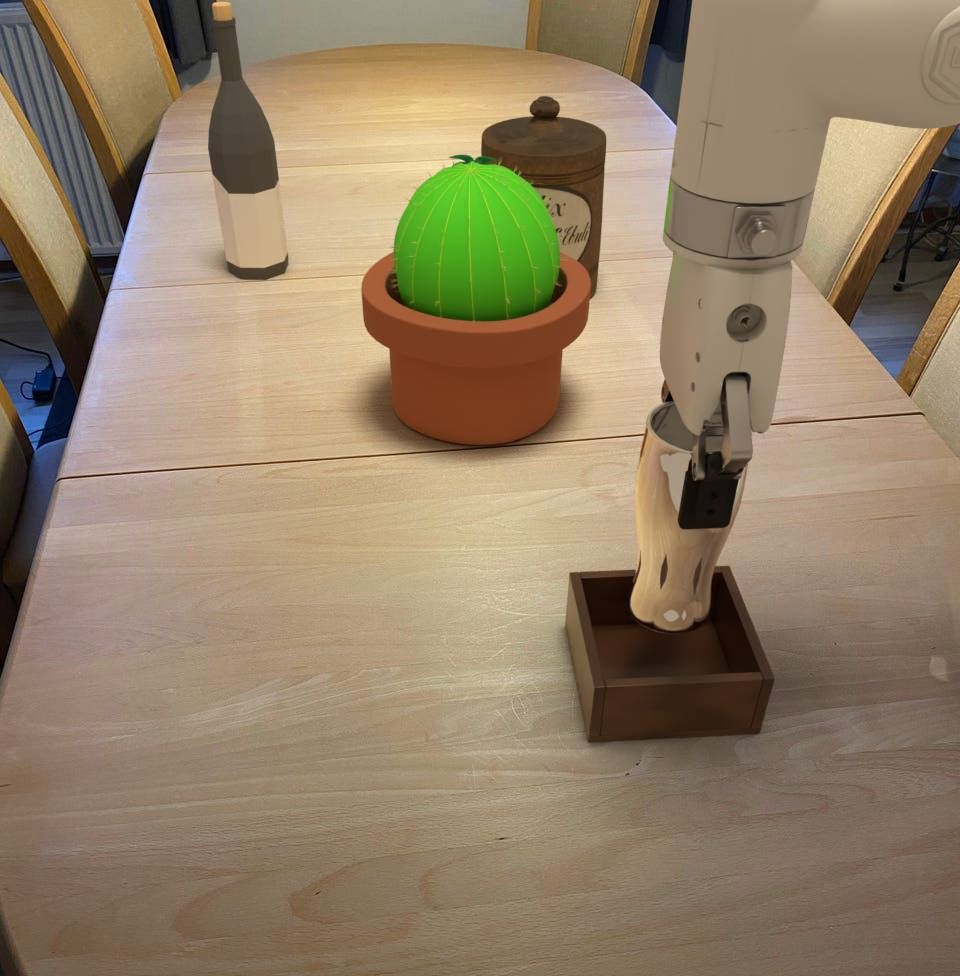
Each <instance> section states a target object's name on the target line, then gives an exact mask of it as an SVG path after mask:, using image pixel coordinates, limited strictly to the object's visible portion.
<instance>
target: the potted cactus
mask: <svg viewBox="0 0 960 976" xmlns="http://www.w3.org/2000/svg"><path fill="white" fill-rule="evenodd" d="M448 159H452V160H454V161H451V162H452V165H451V166H447V167H446V163H444V161H441V164H442V165H439V166H440V170H438V171H437V172H436V173H435V174H434V175H432V174H431V172H430V170H429V172H427V174H428V176H429V178H427V179H426V180H424V182H423V183H422V184H420V185H419V186H417V187H416V186H415V185H412V188H413V189H415V191H414V193H413V194H412V196H411V198H410V199H409V198H408V197H405V199H406V201H408V204H407V206H405V209H404V211H403V213H402V215H401V216H400V219H398V218H396V216H393V218H394V217H395V221H397V222H398V224H397V227H396V230H395V235H394V239H393V240H394V241H393V245H391V246H390V248H391V249H393V251H392V252H390V253H388V254H387V255H384V256H383V257H381V258H380V259H379V260H378V261H376V262H375V263H374V264H373V265H371V267H370V268H369V269H368V270H367V271H366V273H365V274H364V276H363V278H362V282H361V288H360V289H361V306H362V316H363V317H362V318H363V324H364V327H365V329H366V332H367V333H368V335H370V336H371V337H372V338H373V339H374V340H375V341H376V342H377V343H379V344H381V345H382V346H384V347H385V348H387V349H388V350H389V364H390V365H389V366H390V384H391V397H392V398H391V401H392V406H393V410H394V412H395V414H396V416H397V417H398V419H399V420H400V421H401V422H402V423H403V424H405V425H406V426H408V427H409V428H410V429H412V430H414V431H415V432H418V433H420V434H422V435H424V436H427V437H430V438H433V439H436V440H439V441H443V442H444V441H445V442H448V443H453V444H460V445H469V446H470V445H471V446H491V445H492V446H493V445H501V444H507V443H511V442H516V441H518V440H521V439H523V438H526V437H528V436H530V435H532V434H534V433H535V432H537V431H539V430H540V429H541V428H543V427H544V426H545V425H547V423H548V422H549V421H551V419H552V418H553V416H554V415H555V413H556V411H557V409H558V406H559V403H560V395H561V394H560V393H561V380H562V379H561V378H562V367H563V366H562V365H563V352H564V351H563V350H564V349H566V348H567V347H569V346H570V345H571V344H573V343H574V342H575V341H576V340H577V339H578V338H579V337H580V336H581V334H583V332H584V330H585V328H586V327H587V323H588V320H589V314H590V301H591V297H590V289H591V281H590V276H589V274H588V272H587V270H586V269H585V268H584V267H583V266H582V265H581V264H580V263H579V262H578V261H576V260H575V259H573V258H571V257H570V256H568V255H566V254H564V253H561V252H560V248H559V242H558V239H561V238H558V237H557V233H556V230H555V229H556V228H555V227H554V225H553V222H552V220H551V218H550V215H549V212H548V209H547V207H546V205H545V204H546V203H547V202H546V203H544V200H542V198H541V196H540V195H539V194H538V192H537V191H536V190H535V189H534V188H533V187H532V186H531V184H532V183H533V182H532V183H531V184H529V183H528V182H529V181H528V182H527V181H525V180H524V179H523V178H521V177H519V175H517V174H515V173H514V172H515V171H516V169H514V170H515V171H514V172H513V171H511V170H510V169H508V168H506V167H503V166H499V163H500V162H499V163H498V165H496V164H494V163H493V164H490V163H486V162H489V161H498V160H496V159H493V158H490V157H485V156H481V155H480V156H477V157H476V158H473V157H472V156H471V155H469V154H455V155H450V156H449V157H448ZM502 159H503V158H502ZM456 160H461V161H456ZM500 160H501V159H500ZM485 163H486V164H485ZM496 163H497V162H496ZM515 166H516V165H515ZM516 168H517V167H516ZM519 172H520V170H519ZM520 173H521V172H520ZM520 173H518V174H520ZM548 198H549V197H548ZM545 200H546V199H545ZM548 202H549V201H548ZM549 204H550V203H549ZM547 205H548V204H547ZM555 217H556V216H555ZM553 219H554V218H553ZM557 219H558V218H557ZM554 220H555V219H554ZM557 227H558V226H557ZM558 228H560V227H558ZM563 236H564V235H563ZM562 239H563V238H562ZM560 247H565V246H560Z"/></svg>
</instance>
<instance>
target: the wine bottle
mask: <svg viewBox="0 0 960 976" xmlns="http://www.w3.org/2000/svg"><path fill="white" fill-rule="evenodd" d="M211 7H212V14H213V17H212V19H211V23H212V26H213V31H214V38H215V46H216V52H217V59H218V65H219V72H220V78H221V79H220V84H219V87H218V91H217V94H216V96H215V100H214V103H213V107H212V109H211V114H210V120H209V127H208V139H207V140H208V141H207V149H208V150H207V151H208V157H209V162H210V168H211V175H212V180H213V186H214V187H213V188H214V193H215V199H216V206H217V211H218V217H219V223H220V224H219V225H220V230H221V236H222V242H223V249H224V254H225V260H226V265H227V269H228V273H230V274H232V275H234V276H236V277H238V278H239V279H241V280H268V279H271V278H274V277H276V276H279V275H282V274H285V273H286V270H287V268H288V266H289V251H288V241H287V234H286V225H285V217H284V210H283V202H282V193H281V192H282V191H281V184H280V179H279V178H280V177H279V168H278V160H277V152H276V143H275V138H274V135H273V133H272V130H271V127H270V124H269V122H268V119H267V117H266V115H265V112H264V111H263V109H262V106H261V104H260V103H259V102H258V100H257V99H256V97H255V95H254V94H253V92H252V91H251V89H250V87H249V86H248V85H247V83H246V81H245V79H244V78H243V72H242V71H243V70H242V64H241V57H240V50H239V42H238V35H237V34H238V33H237V27H236V24H237V21H236V17H235V16H233V10H232V3H231V2H228V1H217V2H213V3H212V4H211Z"/></svg>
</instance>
